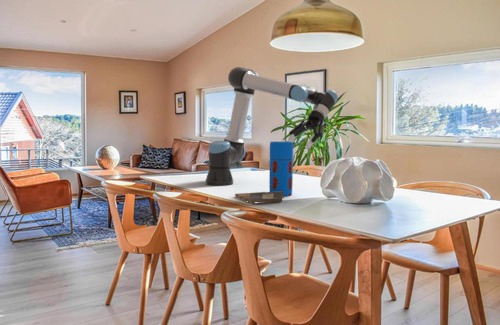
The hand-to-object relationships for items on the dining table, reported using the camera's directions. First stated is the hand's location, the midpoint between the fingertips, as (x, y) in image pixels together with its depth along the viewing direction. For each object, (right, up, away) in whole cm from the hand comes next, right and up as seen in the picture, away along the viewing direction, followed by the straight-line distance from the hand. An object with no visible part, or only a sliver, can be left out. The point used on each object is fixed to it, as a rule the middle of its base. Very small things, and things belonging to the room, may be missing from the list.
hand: (297, 146), depth 213 cm
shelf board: (-19, -24, -17) cm, 35 cm away
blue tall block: (-8, -23, -5) cm, 25 cm away
